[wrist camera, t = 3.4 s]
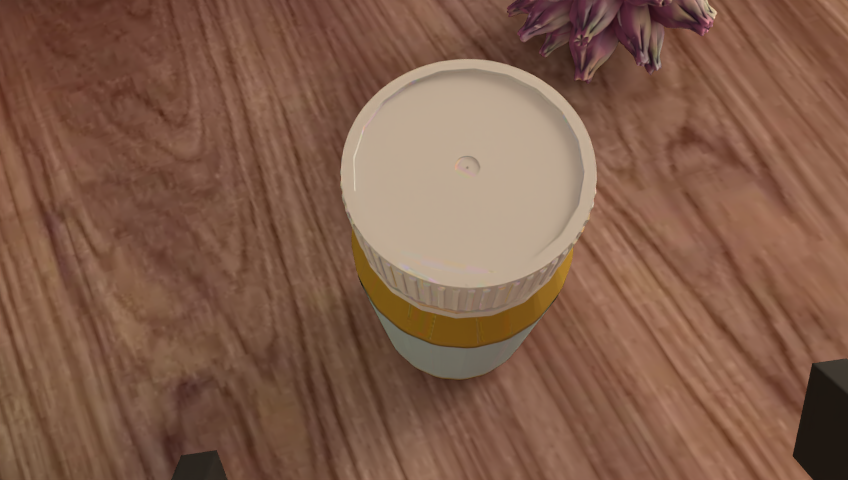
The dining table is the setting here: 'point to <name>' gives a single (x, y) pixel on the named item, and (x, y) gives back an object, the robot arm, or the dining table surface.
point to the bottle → (465, 209)
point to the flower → (609, 27)
